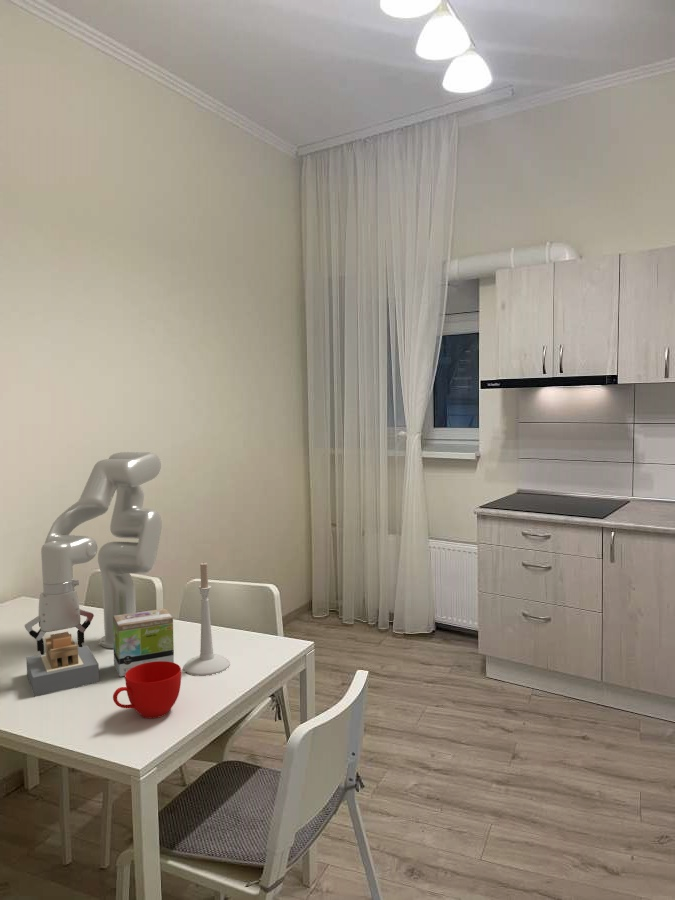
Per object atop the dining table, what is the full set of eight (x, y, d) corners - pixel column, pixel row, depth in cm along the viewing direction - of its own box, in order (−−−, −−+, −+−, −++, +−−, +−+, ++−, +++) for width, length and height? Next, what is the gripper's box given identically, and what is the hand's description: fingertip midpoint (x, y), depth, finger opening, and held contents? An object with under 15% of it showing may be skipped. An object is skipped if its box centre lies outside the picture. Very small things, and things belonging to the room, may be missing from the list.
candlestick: (184, 678, 176) (181, 569, 174) (183, 660, 189) (179, 558, 186) (232, 672, 180) (229, 565, 178) (227, 655, 192) (224, 555, 190)
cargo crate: (68, 640, 180) (67, 631, 180) (71, 646, 176) (70, 637, 176) (50, 644, 178) (50, 634, 178) (53, 650, 174) (53, 640, 173)
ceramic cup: (100, 719, 154) (99, 678, 153) (162, 695, 166) (161, 656, 166) (130, 737, 145) (128, 694, 144) (193, 710, 158) (191, 670, 157)
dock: (88, 662, 188) (87, 644, 188) (99, 682, 175) (98, 663, 174) (27, 674, 180) (26, 656, 180) (33, 696, 167) (32, 676, 166)
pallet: (71, 650, 184) (70, 633, 183) (78, 663, 174) (77, 645, 174) (46, 655, 180) (45, 638, 180) (51, 669, 171) (50, 650, 171)
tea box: (119, 678, 177) (117, 625, 176) (113, 665, 186) (111, 614, 185) (175, 667, 184) (173, 616, 183) (166, 655, 193) (165, 606, 192)
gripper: (89, 579, 183) (92, 638, 185) (21, 589, 175) (24, 651, 176) (94, 585, 177) (97, 647, 178) (24, 596, 168) (27, 660, 169)
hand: (61, 649), depth 177 cm, fingers open, 9 cm apart
